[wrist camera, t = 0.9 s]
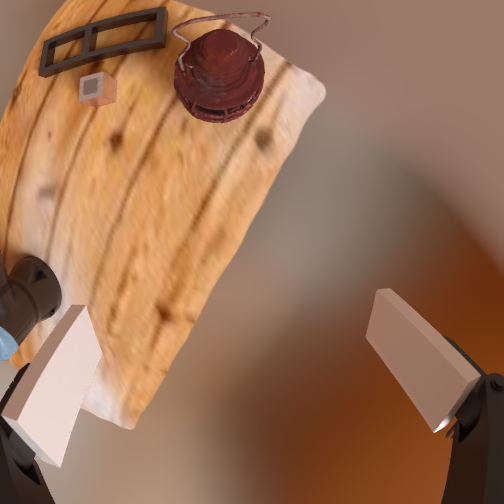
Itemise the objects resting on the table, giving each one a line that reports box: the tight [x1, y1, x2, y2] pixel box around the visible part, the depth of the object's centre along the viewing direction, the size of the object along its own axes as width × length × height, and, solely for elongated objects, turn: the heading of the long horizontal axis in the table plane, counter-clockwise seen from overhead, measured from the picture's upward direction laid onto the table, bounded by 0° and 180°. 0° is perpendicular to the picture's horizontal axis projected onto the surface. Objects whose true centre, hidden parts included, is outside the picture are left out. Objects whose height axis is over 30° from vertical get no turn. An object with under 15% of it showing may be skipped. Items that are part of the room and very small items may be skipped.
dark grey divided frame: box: [39, 7, 168, 78], centre depth 32 cm, size 26×8×3 cm, turn 91°
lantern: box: [171, 12, 272, 123], centre depth 28 cm, size 12×12×30 cm
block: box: [79, 71, 117, 107], centre depth 35 cm, size 4×4×7 cm
